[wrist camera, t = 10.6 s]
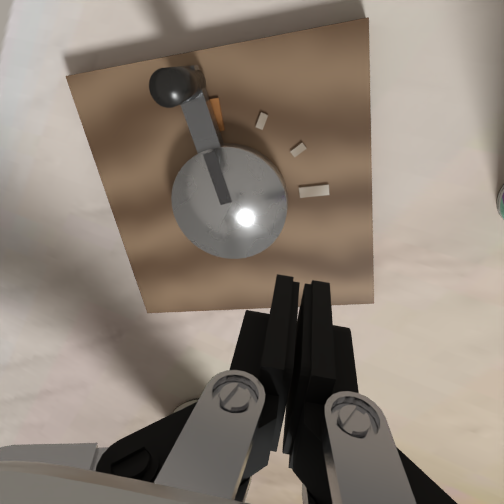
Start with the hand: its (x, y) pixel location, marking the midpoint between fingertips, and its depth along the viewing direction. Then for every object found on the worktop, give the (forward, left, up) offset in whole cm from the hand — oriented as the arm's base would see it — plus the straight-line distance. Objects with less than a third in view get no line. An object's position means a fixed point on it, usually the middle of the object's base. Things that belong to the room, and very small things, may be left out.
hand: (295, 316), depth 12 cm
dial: (0, +7, -21) cm, 23 cm away
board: (-3, +7, -23) cm, 24 cm away
